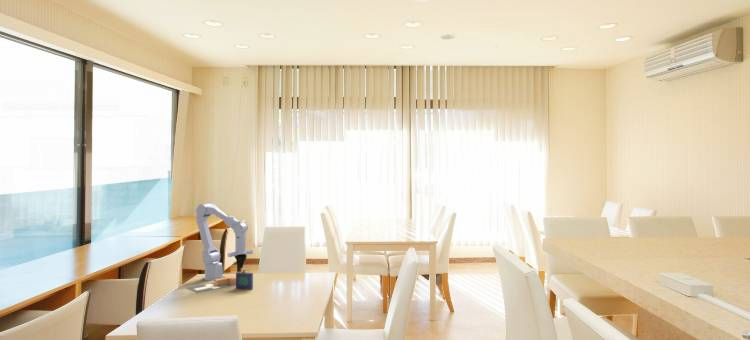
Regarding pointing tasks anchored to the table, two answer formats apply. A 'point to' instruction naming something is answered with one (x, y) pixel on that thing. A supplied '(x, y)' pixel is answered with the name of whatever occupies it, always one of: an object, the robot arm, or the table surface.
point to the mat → (207, 287)
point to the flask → (244, 280)
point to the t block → (225, 281)
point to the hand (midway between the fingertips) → (240, 267)
